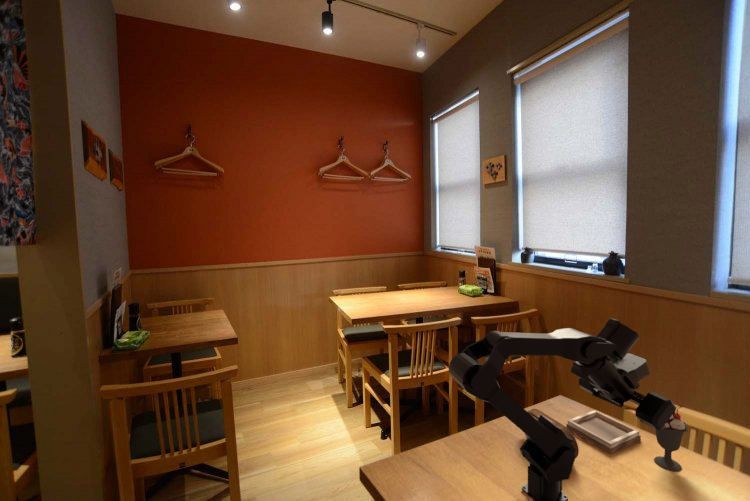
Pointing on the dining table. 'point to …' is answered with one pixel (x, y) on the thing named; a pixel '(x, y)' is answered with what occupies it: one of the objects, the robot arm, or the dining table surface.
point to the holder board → (603, 431)
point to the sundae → (670, 441)
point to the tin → (536, 415)
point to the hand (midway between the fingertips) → (641, 415)
